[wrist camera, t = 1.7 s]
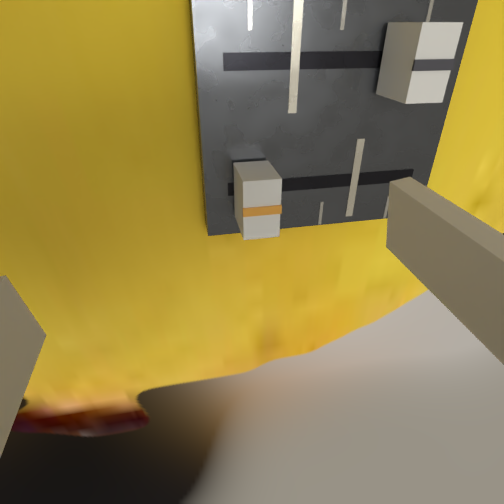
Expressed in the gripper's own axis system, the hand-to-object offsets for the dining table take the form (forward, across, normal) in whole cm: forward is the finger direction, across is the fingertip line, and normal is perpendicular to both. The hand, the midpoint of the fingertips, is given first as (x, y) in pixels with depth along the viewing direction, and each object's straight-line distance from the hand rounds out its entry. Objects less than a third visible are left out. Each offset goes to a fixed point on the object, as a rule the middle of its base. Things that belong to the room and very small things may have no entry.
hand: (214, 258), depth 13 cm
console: (+22, +12, -2) cm, 25 cm away
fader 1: (+19, +4, -6) cm, 21 cm away
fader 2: (+19, +18, +2) cm, 26 cm away
